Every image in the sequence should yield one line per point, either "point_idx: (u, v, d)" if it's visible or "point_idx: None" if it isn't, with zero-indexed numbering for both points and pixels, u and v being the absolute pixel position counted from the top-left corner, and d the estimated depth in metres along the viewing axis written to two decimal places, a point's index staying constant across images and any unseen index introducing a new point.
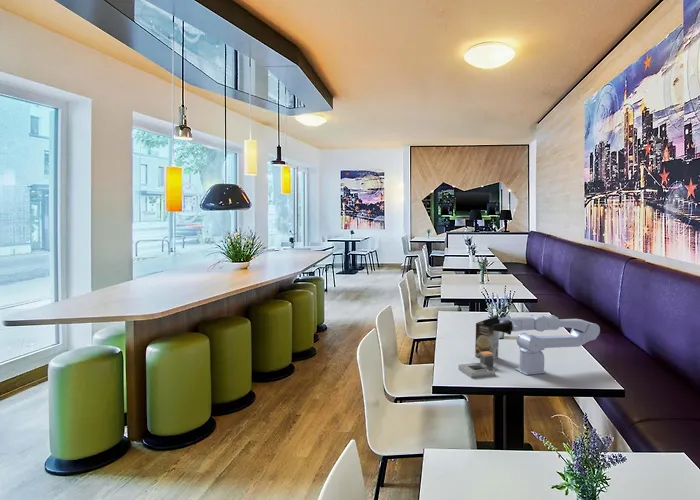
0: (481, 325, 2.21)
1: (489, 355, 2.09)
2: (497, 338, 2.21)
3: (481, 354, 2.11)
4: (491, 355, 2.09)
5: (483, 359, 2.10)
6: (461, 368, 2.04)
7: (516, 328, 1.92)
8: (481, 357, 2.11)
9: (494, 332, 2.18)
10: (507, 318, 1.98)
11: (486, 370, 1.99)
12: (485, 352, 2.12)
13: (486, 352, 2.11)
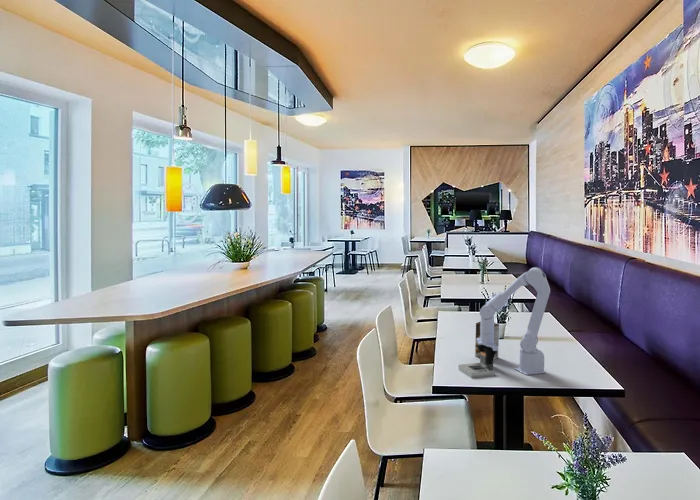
0: None
1: None
2: (497, 338, 2.21)
3: (481, 354, 2.11)
4: None
5: (483, 359, 2.10)
6: (461, 368, 2.04)
7: (495, 348, 2.03)
8: (481, 357, 2.11)
9: (494, 332, 2.18)
10: None
11: (486, 370, 1.99)
12: None
13: None
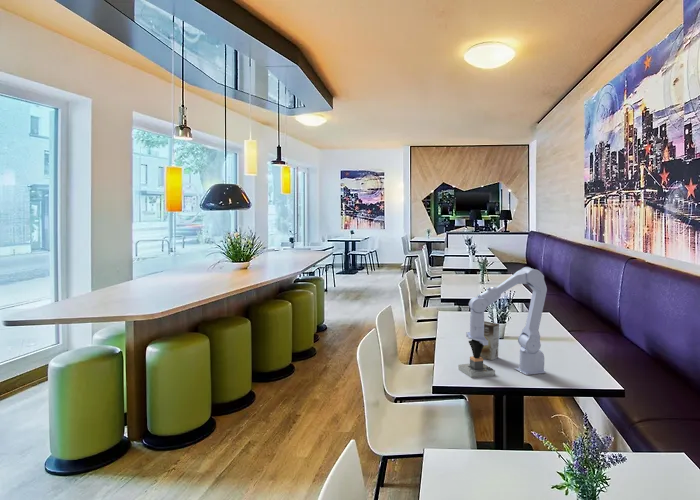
0: None
1: (479, 360, 2.01)
2: (497, 338, 2.21)
3: (471, 359, 2.03)
4: (481, 360, 2.01)
5: (472, 364, 2.02)
6: (461, 368, 2.04)
7: (485, 342, 1.95)
8: (470, 362, 2.03)
9: (494, 332, 2.18)
10: (471, 338, 2.01)
11: (486, 370, 1.99)
12: None
13: None
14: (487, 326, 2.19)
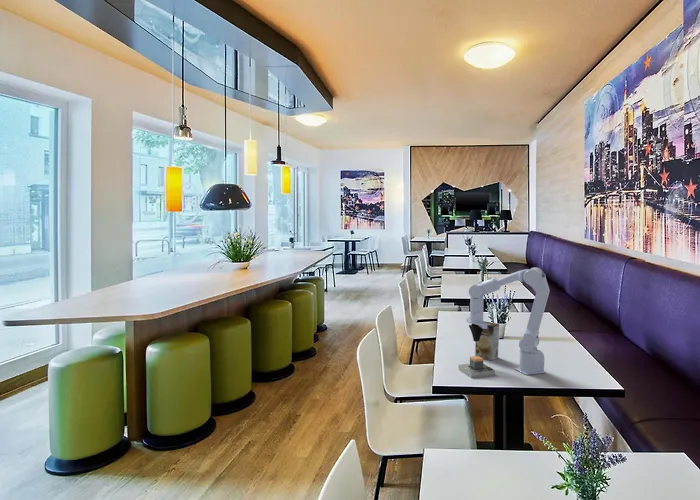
0: None
1: (479, 360, 2.01)
2: (497, 338, 2.21)
3: (471, 359, 2.03)
4: (481, 360, 2.01)
5: (472, 364, 2.02)
6: (461, 368, 2.04)
7: (484, 326, 2.07)
8: (470, 362, 2.03)
9: (494, 332, 2.18)
10: None
11: (486, 370, 1.99)
12: (475, 356, 2.04)
13: (476, 357, 2.03)
14: (487, 326, 2.19)
